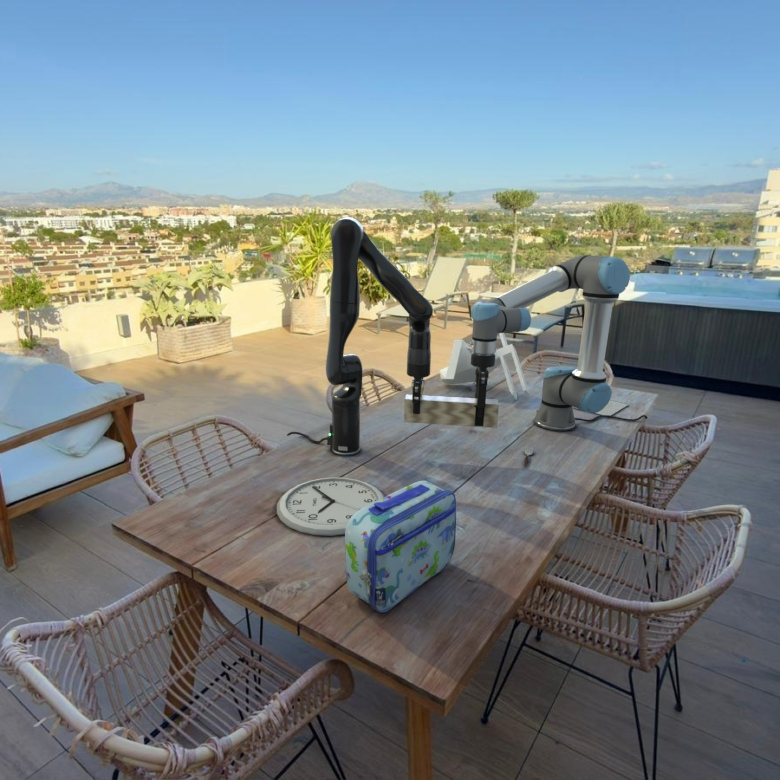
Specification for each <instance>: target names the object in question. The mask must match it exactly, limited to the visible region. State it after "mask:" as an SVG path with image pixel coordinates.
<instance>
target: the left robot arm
mask: <svg viewBox="0 0 780 780" xmlns="http://www.w3.org/2000/svg"><path fill="white" fill-rule="evenodd" d="M330 240H331V252H332V272H331V280H330V292H329V326H328V327H329V329H328V330H329V331H328V342H327V343H328V344H327V351H326V359H325V375H326V379H327V381H328V383H329V384H331V385H332V386H341V387H339V389H337V390H336V391H335V392H333V393H332V395H331V423H330V424H329V433H328V436H326V437H323V438H321V439H320V440H315V439H312V438H311V437H310V436H309V435H307V434H305V433H303V432H299V431H290V432H288V433H287V434H286V436H288V437H289V436H291V435H299V436H302V437H305V438H307V440H308V441H310V442H312V443H315V444H321V443H322V442H324V441H326V444H327V445H328V446H329V451H331V452H332V453H333V454H335V455H337V456H343V457H349V456H354V455H357V454H358V453H360V451H361V438H360V437H361V432H360V431H361V422H360V421H361V412H360V410H361V408H360V407H361V405H360V404H361V403H360V401H361V400H360V399H361V397H362V392H363V391H362V390H363V364H362V363H363V362H362V360H361V359H360V356H358V355H357V354H354V353H349V354H348V353H347V354H344V351H345V347H346V343H347V340H348V338H349V337H350V336H351V333H352V332H353V330H354V328H355V326H356V325H357V322H358V320H359V316H360V305H361V292H360V291H361V290H360V281H359V272H358V269H359V268H358V266H359V261H361V263H363V264H364V266H365V267H366V268H367V269H368V271H369V272H370V273H371V275H372V276H373V277H374V278H375V280H376V281H377V282H378V283H379V284H380V286H381V287H382V288H383V289H384V290H385V291H386V292H387V293H388V294H389V295H390V296H391V297H392V298H393V299H394V300H395V301H397V302H398V303H399V305H400V306H401V307H402V308H403V309H404V310H405V312H406V313H407V314H408V328H409V329H408V330H409V331H408V345H407V346H408V347H407V353H406V375H407V376H409V377H411V378H412V379H411V395H412V403H413V414H420V403H421V396H422V395H423V393H424V388H425V383H426V381H425V378H428V377H429V376H430V375H431V361H432V360H431V359H432V351H431V350H432V349H431V341H432V338H431V337H432V335H431V333H432V332H431V329H430V327H431V326H430V325H431V324H430V323H431V318H432V316H433V313H434V308H433V305H432V303H431V302H430V300H428V299H427V298H426V297H425V296H423V294H421V293H420V292H419V291H418V290H417V289H416V288H415V287H414V286H413V284H412V283H411V281H410V280H409V279H408V278H407V277H406V276H405V275H404V274H403V272H402V271H400V270H399V269H398V268H397V267H396V266H395V265H394V264H393V263H392V262H391V261H390V260H389V259H388V258H387V256H385V254H383V253H382V252H381V251H380V249H378V247H377V246H376V245H375V243H374V242H373V240H371V238H370V237H369V235H368V234H367V233H366V231H365V229H364V228H363V226H362V224H361V223H360V222H359V221H358V220H357V219H355V218H353V217H343V218H340V219H338V220H337V221H336V222H335V223H334V224H333V226H332V227H331V229H330ZM415 397H418V398H419V399H415Z"/></svg>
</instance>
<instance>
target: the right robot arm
mask: <svg viewBox="0 0 780 780" xmlns="http://www.w3.org/2000/svg"><path fill="white" fill-rule="evenodd" d="M630 278H631V273H630V268H629V266H628V265H627V263H626V262H625V261H624V259H622V258H620V257H616V256H610V255H609V256H608V255H590V254H582V255H578V256H574V257H572V258H569V259H567V260H564V261H561V262H560V263H558V264H556V265H554V266H552V267H550V268H549V269H548V272H546V273H544V274H541V275H539V276H538V277H535V278H534V279H531V280H530V281H528V282H525V283H523V284H522V285H519V286H518V287H515V288H514V289H511V290H509V291H507V292H505V293H503V294H501V295H499V296H497V297H494V298H493V299H490V300H489V301H485V300H484V301H483V300H481V301H476V302H475V303H474V304H473V305H472V307H471V310H470V317H471V319H472V333H471V335H472V337H471V338H472V339H471V341H470V342H469V345H470V346H471V347H472V352H473V353H472V354H471V365H473V366H475V367H477V368H476V370H475V375H476V379H475V380H476V383H475V392H474V396H475V397H474V398H477V405H474V407H476V413H475V426H483V423H484V410H485V406H486V405H485V402H486V399H487V388H488V381H489V376H490V373H489V372H488V370H487V368H488V367H493V366H494V365H495V354H494V353H495V352H496V350H497V339H498V334H499V333H504V334H507V333H519V332H524V331H527V330H528V329H529V328H530V326H531V324H532V315H531V312H530V311H529V310H528V309H527V307H530V306H531V305H533V304H536V303H537V302H539V301H541V300H543V299H545V298H547V297H550V296H551V295H553V294H555V293H558V292H559V293H564V292H566V291H569V290H572V289H581V290H582V296H581V297H582V298H583V299H584V300H585V307H584V316H583V324H582V330H581V337H580V338H581V339H580V343H579V344H580V345H579V352H578V358H577V360H578V362H577V367H574V366H566V365H565V366H564V365H559V366H558V365H557V366H550V367H547V368H546V369H545V370H544V375H543V381H542V392H541V402H540V405H539V407H538V409H537V410H536V413H535V417H534V424H535V425H536V426H537V427H539V428H542V429H544V430H549V431H556V432H567V431H572V430H574V429H575V428H576V421H581V422H582V421H583V422H594V421H595V420H597V419H599V418H610V419H611V418H612V419H616V420H620V421H621V420H622V421H627V422H636V421H637V422H638V421H640V420H641V419H642V418H645V419H648V418H649V417H648V415H645V414H641V415H640V416H639V417H637V418H624V417H619V416H616V415H611V416H609V415H600V414H599V415H597V416H595V417H593V418H591V419H585V418H580V417H576V416H575V413H574V409H576V408H578V409H577V410H580V411H581V412H586V413H589V414H596V413H597V412H599V411H601V410H602V409H603V408H604V407H605V406H606V405H607V404H608V402H609V401H611V398H612V388H611V386H610V385H609V384H608V383H607V377H608V376H607V374H606V373H605V372H604V365H605V359H606V352H607V345H608V339H609V338H608V337H609V332H610V326H611V319H612V312H613V307H614V303H615V302H616V301H618V299H619V297H620V294H622V293H623V292H624V291H625V290H626V288H627V287H628V286H629V283H630ZM574 407H575V408H574Z"/></svg>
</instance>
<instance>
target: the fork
mask: <svg viewBox="0 0 780 780" xmlns="http://www.w3.org/2000/svg"><path fill="white" fill-rule="evenodd" d="M533 451H534V446H530V445H528V444H526V446H525V450H524V454H525V455H526V456H525V458H524V466H523V467H524V468H526V466H527V464H528V462H529V456H531V455H533V453H534V452H533Z"/></svg>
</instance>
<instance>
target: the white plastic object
mask: <svg viewBox="0 0 780 780" xmlns="http://www.w3.org/2000/svg"><path fill="white" fill-rule="evenodd" d="M498 335H499V338H500V342H501V345H502V347H500V348H498V349H496V352H495V353H494V354H495V365H494V366H493V367H488V368H487V370H488V372H489V374H490V373H492V372H494V371H495V370H496V369H497V368H499V367H500V366H502V370H503V373H504V376H505V380H506V383H507V386H508V390H509V393H510V394H511V395H512V397H513V398H514V399H515V400H517V392H516V391H517V390H516V388H515V385H514V381H513V378H512V375H511V371H510V369H509V365H508V361H510V360H513V363H514V366H515V369H516V372H517V376H518V380H519V382H520V385H521V389H522V391H523V393H524V395H525V396H526V397H528V396H531V395H530V390H529V388H528V387H529V386H528V384H527V381H526V378H525V375H524V371H523V369H522V368H523V367H522V366H521V362H520V359H519V355H518V352H517V349H516V347H515V346H514V345H513V343H511V344H508V341H507V337H506V333H498ZM472 353H473V352H472V346H469V345H468V343H466V342H465V340H464V339H463V338H460V339H458V338H454V340H453V344H452V349H451V353H450V357H449V362H448V366H446V367H444V368H442V369H440V370H439V371H438V372H439V376H440V381H442V383H443V384H444V385H445V386H449V385H458V384H467V383H468V384H469V383H473V384H476V380H475V379H476V375H475V370H476V368H477V367H475V366H473V365H471V354H472Z"/></svg>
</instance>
